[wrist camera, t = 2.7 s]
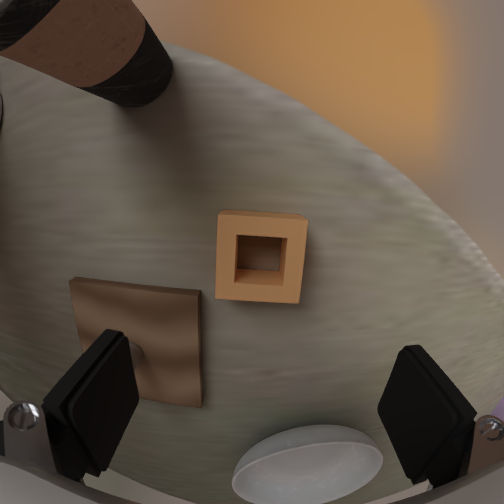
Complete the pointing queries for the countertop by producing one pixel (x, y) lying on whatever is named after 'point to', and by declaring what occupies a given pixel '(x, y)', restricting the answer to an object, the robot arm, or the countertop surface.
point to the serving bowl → (307, 465)
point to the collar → (260, 281)
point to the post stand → (147, 333)
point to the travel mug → (88, 46)
